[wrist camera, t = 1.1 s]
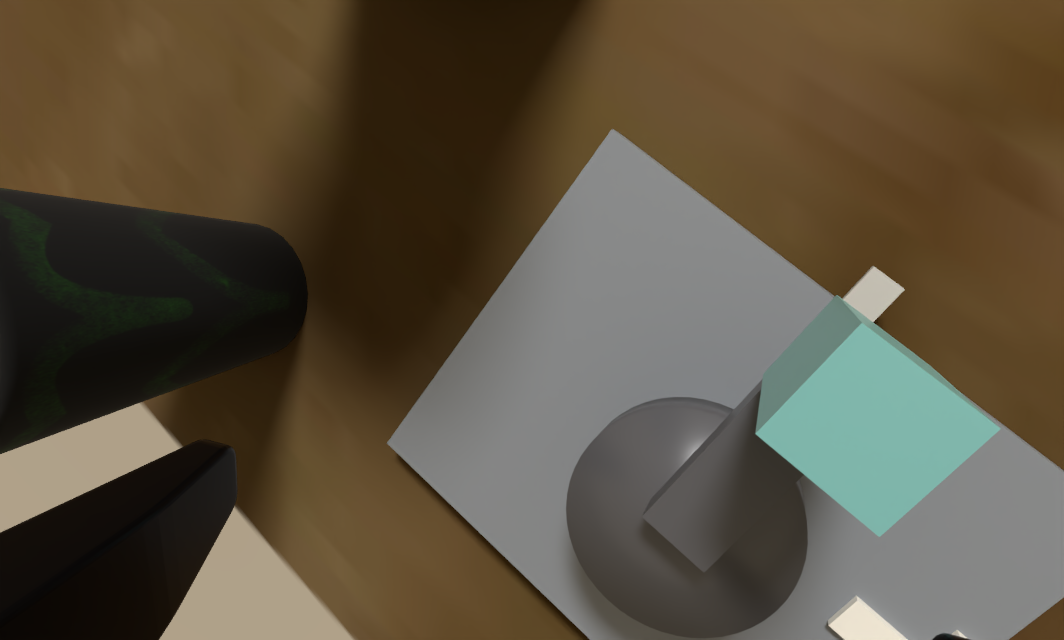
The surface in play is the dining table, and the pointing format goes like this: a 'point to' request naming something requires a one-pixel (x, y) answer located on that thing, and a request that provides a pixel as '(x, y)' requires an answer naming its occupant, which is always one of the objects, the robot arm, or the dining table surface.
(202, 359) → the cup
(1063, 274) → the dining table surface
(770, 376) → the handle
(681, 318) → the base
